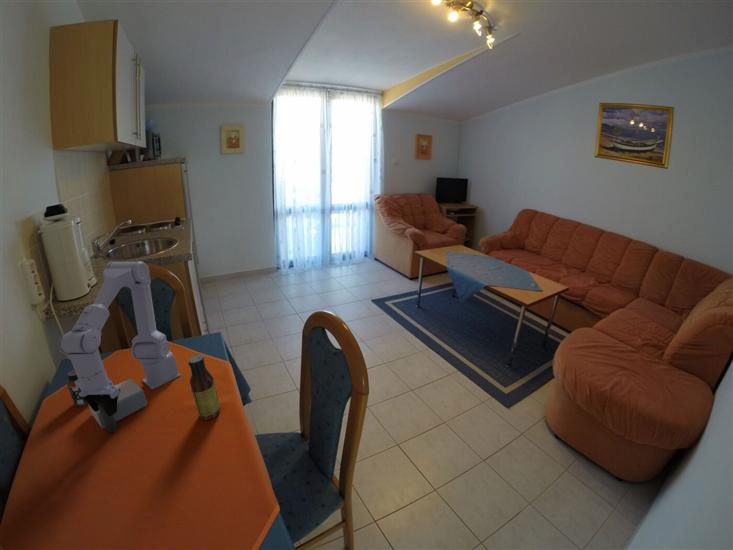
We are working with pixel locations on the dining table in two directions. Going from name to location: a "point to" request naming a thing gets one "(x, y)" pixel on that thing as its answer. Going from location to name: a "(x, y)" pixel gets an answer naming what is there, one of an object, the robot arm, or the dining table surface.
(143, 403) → the dark grey door handle
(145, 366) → the robot arm
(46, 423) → the dining table surface
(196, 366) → the sauce bottle
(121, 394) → the carton
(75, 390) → the supplement bottle
